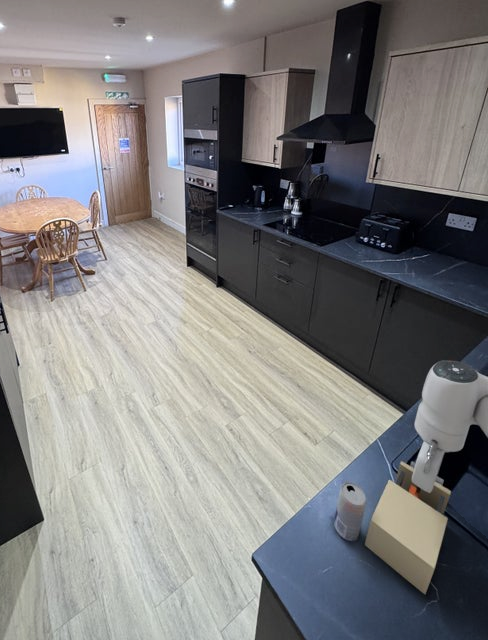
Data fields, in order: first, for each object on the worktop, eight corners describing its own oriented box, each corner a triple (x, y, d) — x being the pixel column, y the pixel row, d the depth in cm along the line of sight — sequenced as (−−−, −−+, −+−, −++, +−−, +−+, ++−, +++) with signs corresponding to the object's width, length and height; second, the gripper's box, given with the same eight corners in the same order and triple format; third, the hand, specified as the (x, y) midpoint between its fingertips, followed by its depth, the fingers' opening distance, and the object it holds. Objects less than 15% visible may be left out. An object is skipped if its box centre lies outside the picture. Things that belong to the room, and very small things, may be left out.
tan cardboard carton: (383, 503, 82) (389, 479, 79) (439, 543, 74) (448, 518, 71) (364, 544, 73) (370, 519, 71) (425, 595, 65) (434, 568, 63)
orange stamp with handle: (414, 510, 78) (404, 504, 80) (417, 500, 80) (408, 494, 82) (421, 486, 76) (411, 480, 77) (424, 477, 78) (415, 471, 79)
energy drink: (351, 515, 79) (358, 480, 75) (363, 541, 74) (371, 505, 70) (329, 516, 79) (336, 481, 75) (340, 542, 74) (347, 506, 70)
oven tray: (401, 467, 89) (406, 449, 87) (448, 496, 82) (454, 477, 80) (382, 512, 79) (387, 493, 77) (433, 550, 72) (440, 530, 69)
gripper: (447, 470, 63) (433, 518, 67) (465, 410, 76) (452, 453, 80) (409, 449, 67) (398, 495, 71) (433, 395, 80) (422, 437, 84)
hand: (427, 473), depth 76 cm, fingers open, 5 cm apart
